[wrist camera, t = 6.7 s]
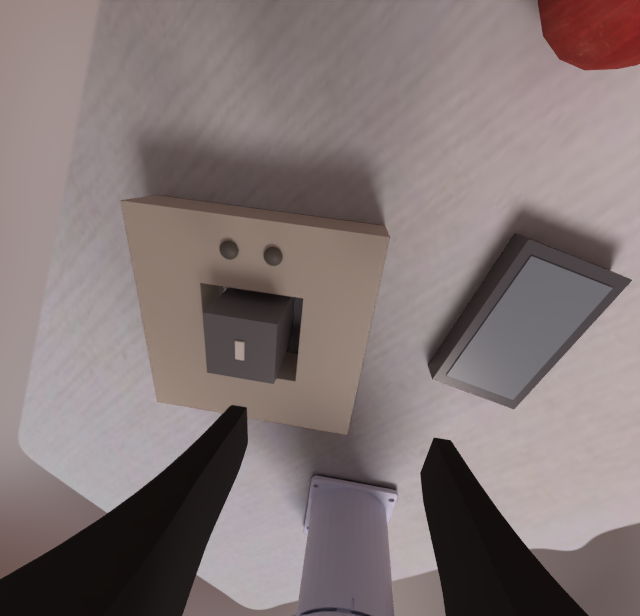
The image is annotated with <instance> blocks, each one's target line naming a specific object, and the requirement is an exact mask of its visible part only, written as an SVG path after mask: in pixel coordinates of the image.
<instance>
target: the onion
mask: <svg viewBox="0 0 640 616" xmlns="http://www.w3.org/2000/svg"><path fill="white" fill-rule="evenodd" d="M538 7H539V13H540V19H541V26H542V32H543V37H544V38H545V39H546V41H547V42H548V44H549V45H550V47H551V48H552V49H553V51H554V52H555V54H556V55H557V57H558V58H559V59H560V60H562V61H565V62H567V63H569V64H572V65H574V66H576V67H578V68H581V69H583V70H605V69H619V68H624V67H629V66H634V65H638V64H640V0H538Z"/></svg>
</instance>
